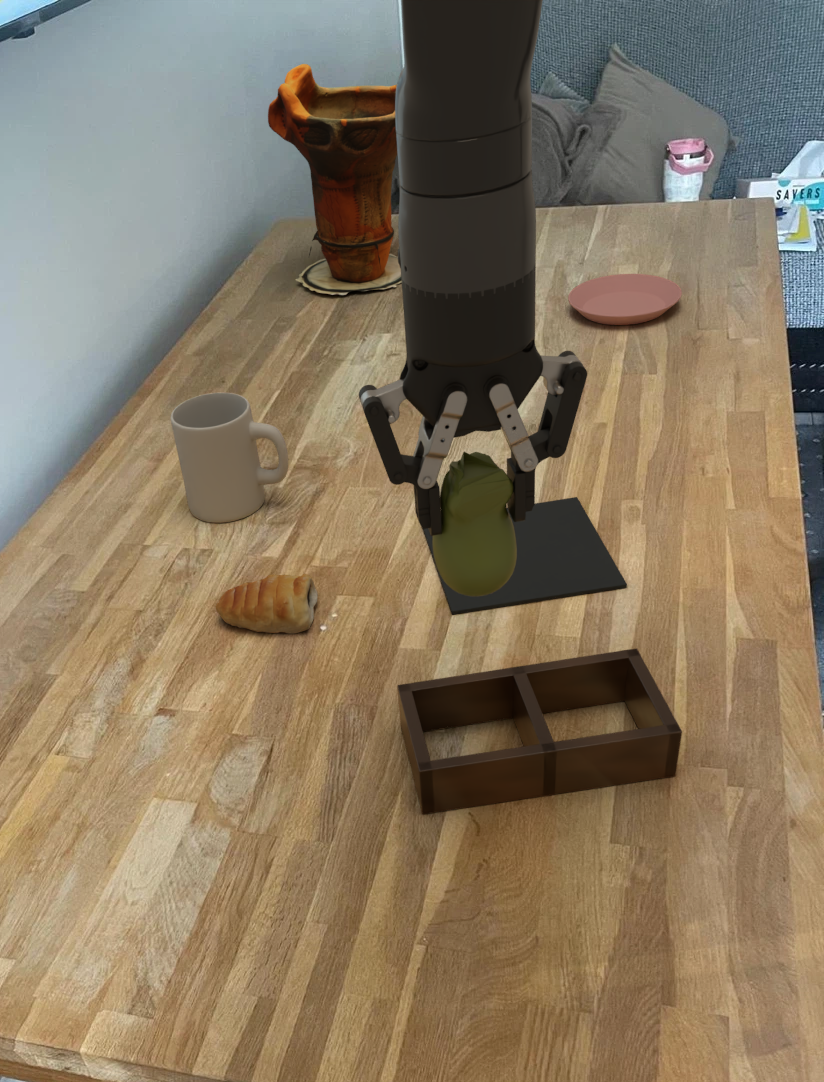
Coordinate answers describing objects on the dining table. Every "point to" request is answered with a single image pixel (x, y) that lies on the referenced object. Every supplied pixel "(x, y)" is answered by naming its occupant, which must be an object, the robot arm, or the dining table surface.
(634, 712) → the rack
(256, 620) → the pastry
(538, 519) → the mat
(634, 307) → the plate
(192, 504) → the mug
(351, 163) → the decorative vase
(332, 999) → the dining table surface
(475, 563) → the green rounded tall piece
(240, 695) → the dining table surface
